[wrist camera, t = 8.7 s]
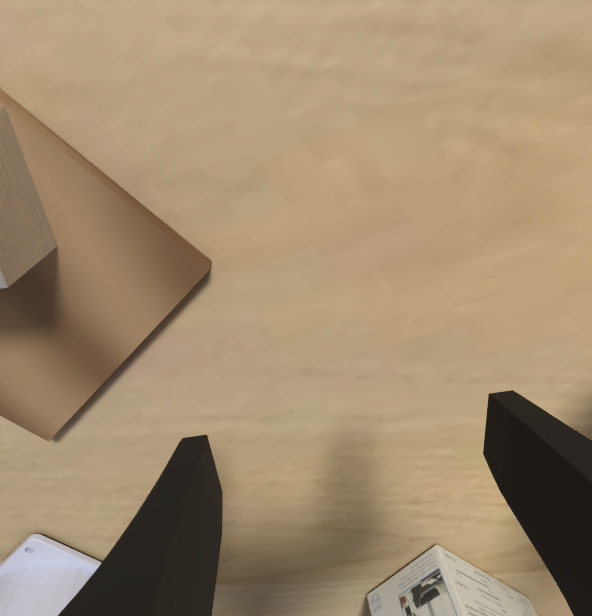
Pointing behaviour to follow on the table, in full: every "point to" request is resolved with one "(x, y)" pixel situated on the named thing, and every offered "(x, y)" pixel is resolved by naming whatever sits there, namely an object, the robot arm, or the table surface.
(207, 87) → the table surface
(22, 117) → the copper plate
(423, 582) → the light bulb box
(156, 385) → the table surface
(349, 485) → the table surface
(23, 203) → the grey square sleeve
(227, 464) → the table surface
